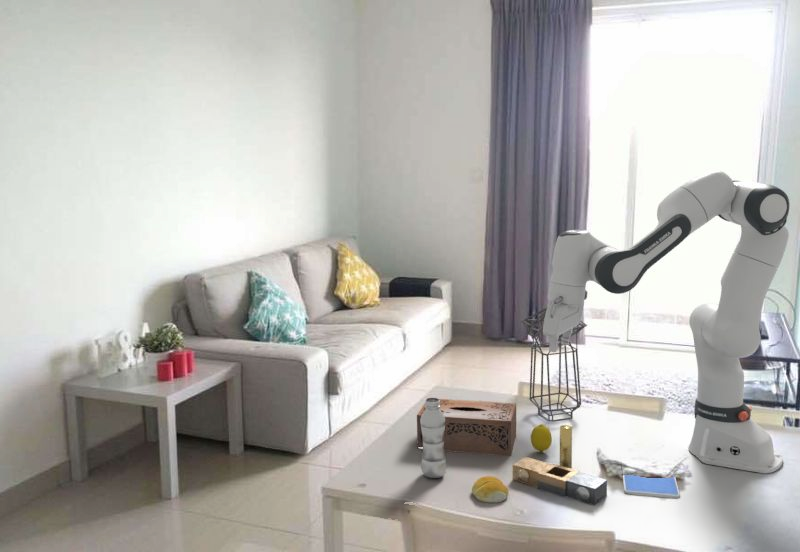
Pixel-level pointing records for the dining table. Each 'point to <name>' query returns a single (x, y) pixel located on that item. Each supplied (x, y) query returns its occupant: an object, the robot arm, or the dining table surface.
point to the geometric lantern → (548, 368)
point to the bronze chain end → (541, 473)
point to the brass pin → (566, 446)
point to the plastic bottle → (433, 439)
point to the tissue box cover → (476, 426)
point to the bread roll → (489, 489)
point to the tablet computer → (651, 486)
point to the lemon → (541, 438)
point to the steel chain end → (580, 488)
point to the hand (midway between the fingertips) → (559, 347)
